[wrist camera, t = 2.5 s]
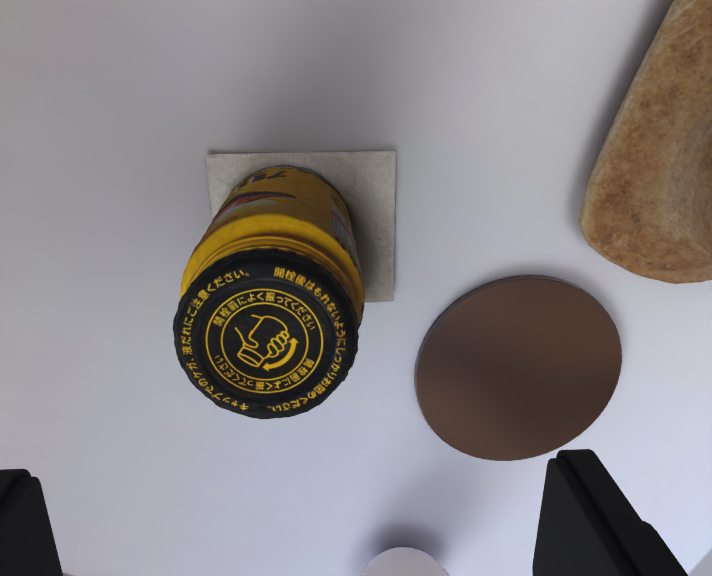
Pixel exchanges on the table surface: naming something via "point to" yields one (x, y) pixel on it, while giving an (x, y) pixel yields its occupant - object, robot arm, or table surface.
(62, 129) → the table surface
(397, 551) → the egg
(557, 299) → the coaster
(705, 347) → the table surface
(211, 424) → the table surface
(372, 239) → the condiment
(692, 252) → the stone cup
